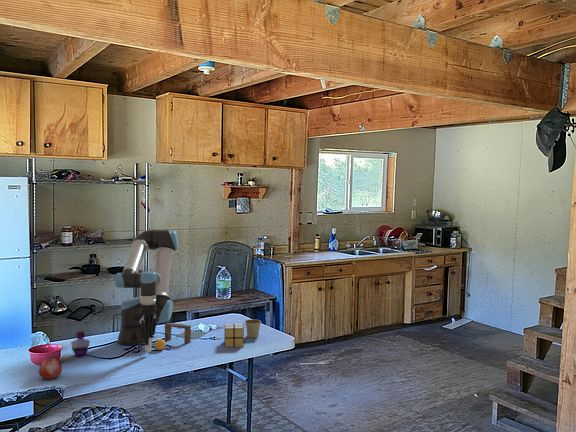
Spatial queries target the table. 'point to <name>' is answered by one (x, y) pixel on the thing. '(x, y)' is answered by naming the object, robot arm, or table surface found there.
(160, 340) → the ball
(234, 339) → the puzzle cube
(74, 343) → the potion bottle
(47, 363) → the fruit
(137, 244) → the robot arm
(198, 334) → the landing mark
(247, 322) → the flower pot
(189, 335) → the bridge
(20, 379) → the table surface
